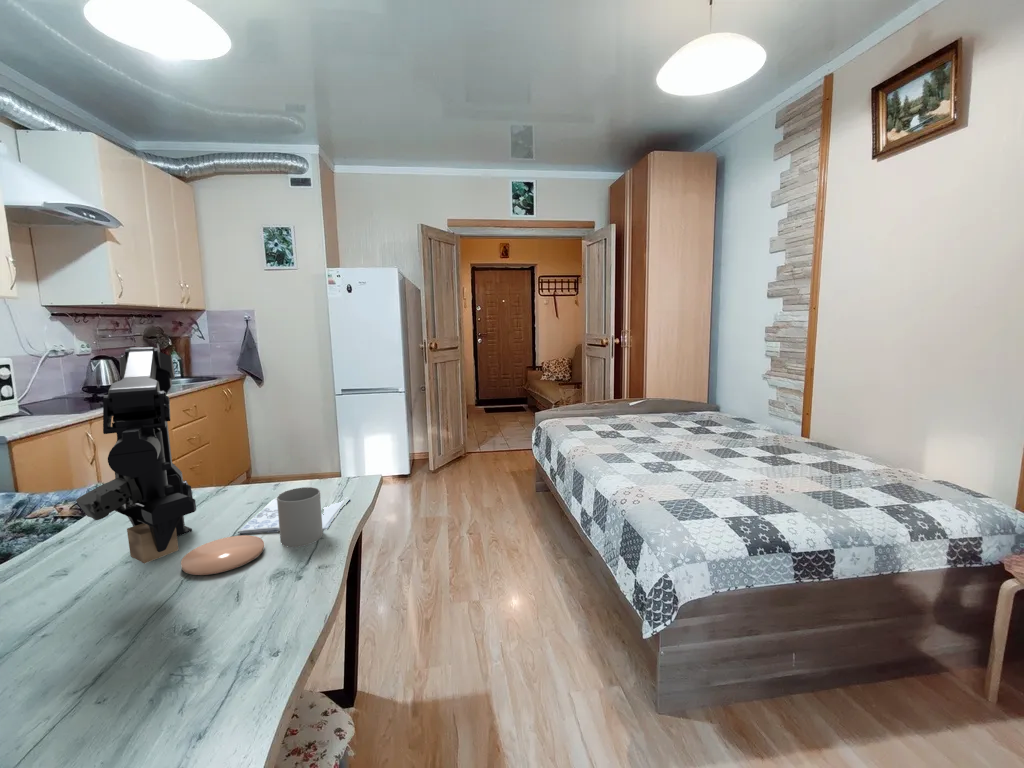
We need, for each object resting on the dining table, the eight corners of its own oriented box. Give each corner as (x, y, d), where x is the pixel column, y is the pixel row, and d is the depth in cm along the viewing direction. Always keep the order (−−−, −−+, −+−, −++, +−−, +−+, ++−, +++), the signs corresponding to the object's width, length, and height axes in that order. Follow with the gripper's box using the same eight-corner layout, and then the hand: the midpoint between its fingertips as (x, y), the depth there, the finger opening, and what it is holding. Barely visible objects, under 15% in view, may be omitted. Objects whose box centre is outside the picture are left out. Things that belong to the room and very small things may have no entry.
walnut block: (130, 556, 76) (126, 528, 76) (164, 543, 81) (161, 517, 80) (144, 563, 74) (140, 535, 73) (178, 550, 78) (175, 523, 78)
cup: (306, 548, 93) (302, 503, 92) (271, 545, 95) (268, 500, 94) (330, 530, 101) (327, 488, 100) (298, 527, 103) (295, 486, 102)
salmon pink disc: (167, 566, 87) (166, 559, 87) (239, 536, 99) (239, 530, 99) (206, 585, 80) (205, 578, 80) (279, 551, 92) (278, 544, 92)
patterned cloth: (275, 503, 119) (274, 496, 118) (352, 501, 120) (352, 493, 119) (235, 537, 100) (234, 528, 99) (328, 534, 101) (327, 525, 101)
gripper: (56, 465, 73) (70, 555, 75) (106, 484, 64) (120, 586, 66) (139, 448, 82) (149, 528, 84) (192, 462, 73) (202, 552, 75)
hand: (154, 547), depth 77 cm, fingers closed on walnut block, 5 cm apart
